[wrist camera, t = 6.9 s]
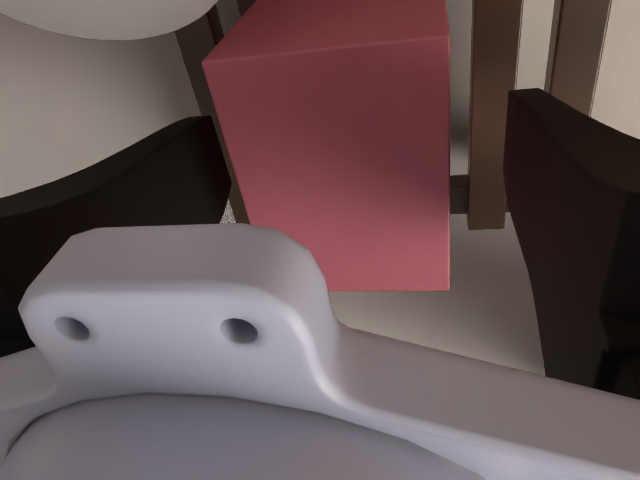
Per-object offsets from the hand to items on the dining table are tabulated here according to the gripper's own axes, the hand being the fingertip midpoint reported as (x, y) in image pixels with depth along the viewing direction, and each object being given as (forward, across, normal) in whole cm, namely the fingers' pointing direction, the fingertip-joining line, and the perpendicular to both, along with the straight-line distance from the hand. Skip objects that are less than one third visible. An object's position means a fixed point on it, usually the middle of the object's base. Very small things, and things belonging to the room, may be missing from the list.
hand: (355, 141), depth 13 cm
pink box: (+3, 0, 0) cm, 3 cm away
